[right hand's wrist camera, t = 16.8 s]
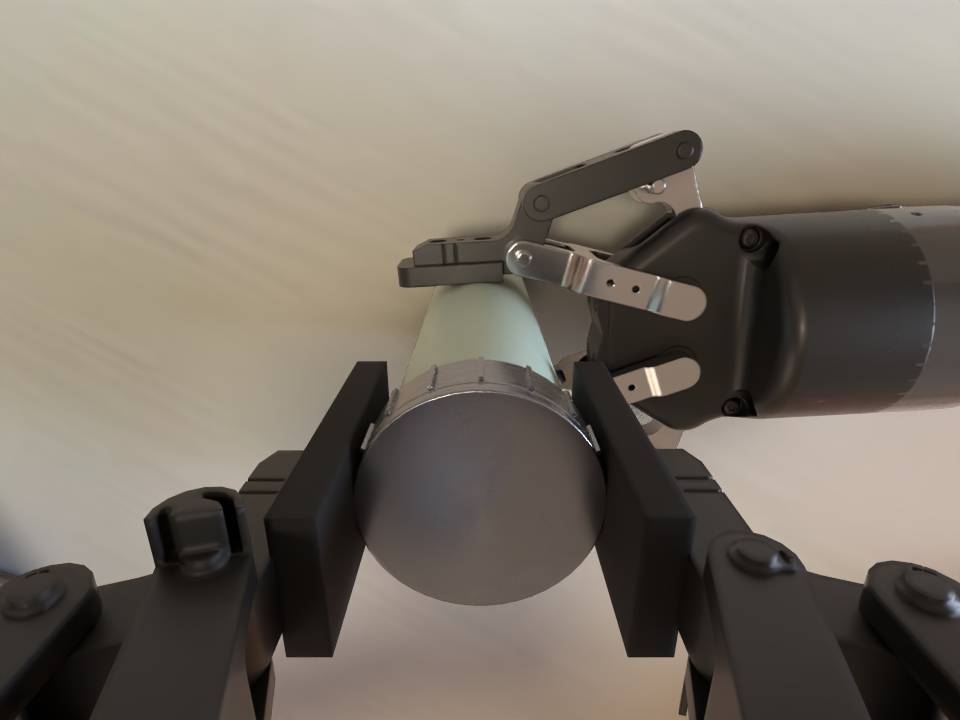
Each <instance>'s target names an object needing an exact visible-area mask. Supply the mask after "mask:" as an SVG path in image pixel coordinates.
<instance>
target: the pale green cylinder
mask: <svg viewBox="0 0 960 720" xmlns="http://www.w3.org/2000/svg"><path fill="white" fill-rule="evenodd" d="M503 279H504V282H497V283H474V284H463V285H445V286H436V287H435V290H434V293H433V296H432V299H431V302H430V305H429V307H428V310H427V313H426V316H425V319H424V322H423V325H422V328H421V330H420V333H419V336H418V339H417V342H416V345H415V348H414V351H413V353H412V356H411V359H410V362H409V365H408V368H407V371H406V374H405V376H404V379H403V382H402V385H401V388H402V387H403V386H404V385H405V384H407V383H408V382H409V381H411V380H412V379H414V378H415V377H417V376H419V375H421V374H423V373H424V372H426V371H428V370H430V369H431V366H432V365H435V364H436V366H437V367H439V366H441V365H445V364H449V363H453V362H457V361H466V360H479V356H483V357H484V360H495V361H503V362H507V363H511V364H515V365H519V366H522V367H524V368H525V367H526V365H528V366H531V368H532V371H534V372H536V373H538V374H540V375H541V376H543V377H545V378H547V379H548V380H550V381H551V382H552V383H554V384H555V385H556V386H558V387H559V388H560V385H559V382H558V379H557V376H556V373H555V370H554V368H553V365H552V362H551V359H550V356H549V353H548V350H547V347H546V345H545V342H544V339H543V336H542V333H541V330H540V327H539V324H538V321H537V319H536V316H535V313H534V310H533V307H532V304H531V301H530V298H529V296H528V293H527V290H526V287H525V284H524V281H523V278H522V277H521V276H517V275H515V274H506V275H503ZM560 389H561V388H560Z"/></svg>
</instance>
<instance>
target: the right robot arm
mask: <svg viewBox="0 0 960 720" xmlns="http://www.w3.org/2000/svg"><path fill="white" fill-rule="evenodd" d="M571 399H572V401H573V403H574V404H575V406H576V407H577V408H578V410H579V412H580V414H581V415H582V417H583V419H584V421H585V423H586V426H587V425H591V428H592V430H593V432H594V435H595V437H596V440H597V442H598V445H599V447H600V449H601V452H602V454H601V455H598V456H599V459H600V462H601V464H602V467H603V470H604V473H605V478H606V483H607V499H606V509H605V519H604V524H603V528H602V530H601V533H600V535H599V537H598V540H597V542H596V543H595V548H596V551H597V554H598V558H599V561H600V564H601V568H602V571H603V575H604V578H605V581H606V585H607V588H608V592H609V595H610V598H611V602H612V605H613V609H614V612H615V615H616V619H617V622H618V625H619V629H620V632H621V636H622V639H623V642H624V646H625V649H626V653H627V656H628V657H674V654H675V648H676V642H677V636H678V630H679V633H680V635H681V638H682V640H683V642H684V645H685V647H686V649H687V652H688V654H689V656H688V661H687V667H686V672H685V678H684V684H683V689H682V695H681V700H680V707H679V715H684V716H686V713H687V707H688V712H689V720H960V583H958V582H957V581H955V580H953V579H951V578H949V577H947V576H945V575H943V574H941V573H939V572H937V571H935V570H933V569H930V568H927V567H923V566H921V565H917V564H913V563H907V562H899V561H886V562H879V563H876V564H875V565H874V566H873V567H871V568H870V569H869V570H868V574H867V577H866V580H865V583H864V584H859V583H854V582H850V581H845V580H841V579H836V578H831V577H827V576H822V575H818V574H815V573H811V572H808V571H806V569H805V566H804V565H803V564H802V562H801V561H800V559H799V558H798V557H797V555H796V554H795V553H793V552H792V551H791V550H789V549H788V548H787V547H785V546H784V545H783V544H781V543H779V542H777V541H775V540H773V539H771V538H769V537H766V536H764V535H760V534H756V533H753V532H752V530H751V529H750V528H749V526H748V525H747V523H746V522H745V521H744V519H743V518H742V517H741V515H740V514H739V512H738V511H737V510H736V508H735V507H734V506H733V504H732V503H731V501H730V500H729V499H728V497H727V496H726V495H725V493H722V489H721V488H720V486H719V485H718V484H717V482H716V481H715V480H713V477H712V475H711V474H710V473H709V471H708V470H707V468H706V467H705V466H704V464H703V463H702V462H701V461H700V460H698V459H697V458H695V457H694V456H692V455H691V454H689V453H688V452H686V451H685V450H683V449H655V448H654V446H653V444H652V443H651V441H650V439H649V438H648V436H647V434H646V433H645V431H644V429H643V428H642V426H641V424H640V423H639V421H638V419H637V418H636V416H635V414H634V413H633V411H632V409H631V408H630V406H629V404H628V403H627V401H626V399H625V398H624V396H623V394H622V393H621V391H620V389H619V388H618V386H617V384H616V383H615V381H614V379H613V378H612V376H611V374H610V373H609V371H608V369H607V368H606V366H605V364H604V363H603V361H574V364H573V379H572V395H571ZM388 401H389V390H388V374H387V361H358V362H357V363H356V365H355V367H354V368H353V370H352V372H351V373H350V375H349V377H348V378H347V380H346V382H345V383H344V385H343V387H342V388H341V390H340V392H339V393H338V395H337V397H336V398H335V400H334V402H333V403H332V405H331V407H330V408H329V410H328V412H327V413H326V415H325V417H324V418H323V420H322V422H321V423H320V425H319V427H318V428H317V430H316V432H315V433H314V435H313V437H312V438H311V440H310V442H309V443H308V445H307V447H306V448H305V450H304V451H277V452H275V453H274V454H272V455H271V456H269V457H268V458H266V459H265V460H263V461H262V462H260V463H259V464H258V466H257V467H256V468H255V470H254V471H253V473H252V474H251V475H250V477H249V478H248V482H245V484H244V485H243V486H242V488H241V489H240V491H239V493H238V492H237V491H236V490H233V489H229V488H225V487H203V488H199V489H194V490H190V491H186V492H183V493H181V494H178V495H176V496H173V497H171V498H168V499H167V500H165V501H164V502H162V503H161V504H159V505H158V506H156V507H154V508H153V509H152V510H151V511H150V513H149V514H148V515H147V516H146V517H145V518H144V524H145V528H146V532H147V536H148V539H149V543H150V547H151V551H152V555H153V559H154V563H155V566H156V567H155V570H154V572H153V574H150V575H147V576H143V577H140V578H135V579H131V580H126V581H121V582H117V583H112V584H108V585H103V586H98V587H97V585H96V582H95V579H94V575H93V572H92V571H91V570H89V569H88V568H87V567H86V566H85V565H79V564H73V563H65V564H57V565H49V566H46V567H42V568H39V569H35V570H33V571H30V572H27V573H25V574H23V575H21V576H19V577H18V576H15V575H12V574H8V573H5V572H1V571H0V720H271V714H272V705H273V696H274V687H275V674H274V667H273V661H272V656H273V653H274V651H275V648H276V646H277V644H278V641H279V639H280V636H281V634H283V640H284V646H285V652H286V657H333V654H334V650H335V647H336V644H337V640H338V637H339V633H340V630H341V627H342V623H343V620H344V616H345V613H346V610H347V606H348V603H349V599H350V596H351V593H352V589H353V586H354V583H355V579H356V576H357V572H358V569H359V566H360V562H361V559H362V555H363V552H364V549H365V545H366V544H365V542H364V541H363V539H362V536H361V534H360V532H359V529H358V527H357V523H356V516H355V506H354V494H353V484H354V479H355V475H356V471H357V468H358V465H359V462H360V460H361V457H362V455H363V454H362V453H360V452H359V450H360V448H361V445H362V443H363V441H364V438H365V436H366V433H367V431H368V428H369V426H370V424H371V423H373V424H375V422H376V420H377V418H378V416H379V414H380V413H381V411H382V409H383V407H384V406H385V405H386V404H387V402H388Z"/></svg>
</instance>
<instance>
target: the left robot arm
mask: <svg viewBox="0 0 960 720" xmlns="http://www.w3.org/2000/svg"><path fill="white" fill-rule="evenodd" d="M702 151H703V144H702V141H701V139H700V137H699V136H698V135H697V134H696V133H695V132H693V131H689V130H683V131H675V132H668V133H661V134H656V135H654V136H651V137H648V138H646V139H643V140H640V141H638V142H635V143H632V144H630V145H627V146H625V147H622V148H619V149H617V150H614V151H611V152H609V153H606V154H603V155H601V156H598V157H595V158H593V159H590V160H587V161H585V162H582V163H579V164H577V165H574V166H571V167H569V168H566V169H563V170H561V171H558V172H555V173H553V174H550V175H548V176H545V177H542V178H540V179H537V180H534V181H532V182H529V183H527V184H526V185H524V186H523V187H522V189H521V190H520V192H519V197H518V203H517V206H516V209H515V212H514V216H513V219H512V221H511V224H510V225H509V227H508V228H507V229H506V230H505V231H503V232H502V233H500V234H497V235H489V236H473V237H458V238H439V239H429V240H427V241H425V242H423V243H421V244H419V245H417V246H416V247H415V249H414V250H413V257H412V258H406V259H403V260H402V261H401V262H400V264H399V265H398V266H397V268H398V277H399V286H400V287H406V288H410V287H428V286H445V285H463V284H474V283H497V282H504V279H503V275H506V274H515V275H517V276H521V277H525V278H529V279H533V280H537V281H541V282H545V283H549V284H553V285H557V286H561V287H565V288H567V289H569V290H571V291H573V292H576V293H579V294H583V295H587V301H588V305H589V309H590V313H591V316H592V324H591V327H590V331H589V334H588V338H587V350H585V351H582V352H579V353H576V354H573V355H570V356H568V357H565V358H563V359H562V360H561V361H560V362H559V363H558V364H557V365H555V366H553V368H554V370H555V373H556V376H557V379H558V382H559V385H560V388H561V390H562V391H564V390H567V391H568V392H569V393H570V396H571V395H572V379H573V364H574V361H603V363H604V364H605V366H606V368H607V369H608V371H609V373H610V374H611V376H612V378H613V379H614V381H615V383H616V384H617V386H618V388H619V389H620V391H621V393H622V394H623V396H624V398H625V399H626V401H627V403H628V404H631V405H633V406H634V407H636V408H637V409H639V410H641V411H642V412H644V413H645V414H647V415H649V416H650V417H652V418H653V420H652V421H650V422H649V423H647V424H644V425H641V426H642V428H643V429H644V431H645V433H646V434H647V436H648V438H649V439H650V441H651V443H652V444H653V446H654V448H655V449H676V448H677V446H678V443H679V441H680V438H681V436H682V433H683V431H684V430H689V429H693V428H696V427H698V426H700V425H702V424H704V423H705V422H708V421H710V420H713V419H715V418H719V417H726V416H729V417H742V418H753V419H766V418H785V417H804V416H823V415H841V414H860V413H878V412H897V411H916V410H931V409H941V408H951V407H957V406H960V206H949V205H942V206H911V207H904V206H899V205H894V204H891V205H880V206H874V207H870V208H869V209H862V210H846V211H829V212H812V213H796V214H780V215H763V216H747V217H726V216H724V215H722V214H720V213H718V212H716V211H714V210H712V209H709V208H704V207H702V204H701V199H700V194H699V189H698V185H697V180H696V175H695V171H694V165H696V164H697V162H698V161H699V159H700V158H701V155H702ZM625 192H629V194H630V196H631V197H632V198H633V199H634V200H636V201H639V202H643V203H646V204H654V203H662V204H663V205H664V206H665V208H666V209H667V212H668V213H667V214H665V215H664V216H663V217H661V218H660V219H659V220H658V221H656V222H655V223H654V224H652V225H651V226H650V227H648V228H647V229H646V230H645V231H643V232H642V233H641V234H639V235H638V236H637V237H635V238H634V239H633V240H631V241H630V242H629V243H628V244H626V245H625V246H624V247H622V248H621V249H620V250H618V251H617V252H616V253H615V254H611V253H608V252H604V251H600V250H596V249H592V248H588V247H584V246H580V245H576V244H571V243H563V242H559V241H555V240H551V239H547V235H548V232H549V229H550V226H551V223H552V220H553V219H554V218H557V217H559V216H562V215H565V214H567V213H570V212H573V211H576V210H578V209H581V208H584V207H587V206H589V205H592V204H595V203H598V202H600V201H603V200H606V199H608V198H611V197H614V196H617V195H619V194H622V193H625Z"/></svg>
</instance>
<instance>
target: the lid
mask: <svg viewBox="0 0 960 720" xmlns="http://www.w3.org/2000/svg"><path fill="white" fill-rule="evenodd" d="M359 452H360V453H362V454H363V455H362V457H361V460H360V462H359V465H358V468H357V471H356V475H355V479H354V484H353V494H354V506H355V516H356V523H357V527H358V529H359V532H360V534H361V536H362V539H363V541H364V542H365V544H366V546H367V548H368V549H369V551H370V552H371V554H372V555H373V556H374V558H375V559H376V560H377V561H378V563H379V564H380V565H381V566H382V567H383V568H384V569H385V570H386V571H387V572H388V573H390V574H391V575H392V576H393V577H395V578H396V579H397V580H399V581H400V582H402V583H403V584H405V585H407V586H408V587H410V588H412V589H413V590H415V591H418V592H420V593H422V594H424V595H426V596H429V597H432V598H435V599H438V600H442V601H446V602H451V603H456V604H464V605H497V604H504V603H509V602H514V601H519V600H522V599H525V598H528V597H531V596H534V595H536V594H538V593H541V592H543V591H545V590H547V589H549V588H550V587H552V586H554V585H556V584H557V583H559V582H560V581H562V580H563V579H564V578H566V577H567V576H568V575H570V574H571V573H572V572H573V571H574V570H575V569H576V568H577V567H578V566H579V565H580V564H581V563H582V562H583V561H584V559H585V558H586V557H587V556H588V554H589V553H590V551H591V550H592V548H593V547H594V545H595V543H596V542H597V540H598V537H599V535H600V533H601V530H602V528H603V524H604V519H605V509H606V499H607V483H606V478H605V473H604V470H603V467H602V464H601V462H600V459H599V456H598V455H601V454H602V452H601V449H600V447H599V445H598V442H597V440H596V437H595V435H594V432H593V430H592V428H591V425H587V426H586V423H585V421H584V419H583V417H582V415H581V414H580V412H579V410H578V408H577V407H576V406H575V404H574V403H573V401H572V399H571V396H570V393H569V392H568V391H567V390H564V391H562V390H561V389H560V388H559V387H558V386H556V385H555V384H554V383H552V382H551V381H550V380H548V379H547V378H545V377H543V376H541V375H540V374H538V373H536V372H534V371H532V368H531V366H528V365H526V367H525V368H524V367H522V366H519V365H515V364H511V363H507V362H503V361H495V360H484V357H483V356H479V360H466V361H457V362H453V363H449V364H445V365H441V366H439V367H437V366H436V364H435V365H432V366H431V369H430V370H428V371H426V372H424V373H423V374H421V375H419V376H417V377H415V378H414V379H412V380H411V381H409V382H408V383H407V384H405V385H404V386H403V387H402V388H400V389H399V390H398V389H397V388H395V389H394V390H393V391H392V394H391V397H390V399H389V401H388V402H387V404H386V405H385V406H384V407H383V409H382V411H381V413H380V414H379V416H378V418H377V420H376V422H375V424H373V423H371V424H370V426H369V428H368V431H367V433H366V436H365V438H364V441H363V443H362V445H361V448H360V450H359Z"/></svg>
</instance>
